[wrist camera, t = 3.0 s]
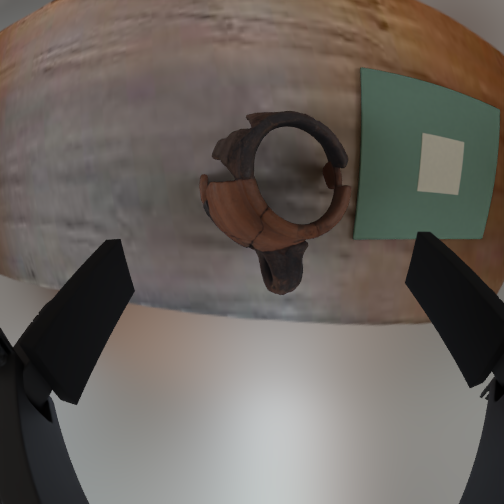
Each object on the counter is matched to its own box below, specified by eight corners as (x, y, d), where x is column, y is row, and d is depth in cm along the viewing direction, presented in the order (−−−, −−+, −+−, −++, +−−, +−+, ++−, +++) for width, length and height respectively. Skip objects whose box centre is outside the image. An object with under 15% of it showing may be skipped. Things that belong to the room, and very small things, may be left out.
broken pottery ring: (179, 146, 19) (201, 105, 12) (286, 129, 22) (347, 98, 15) (218, 294, 22) (258, 334, 14) (315, 259, 25) (382, 275, 17)
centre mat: (498, 109, 15) (500, 109, 15) (480, 237, 22) (482, 239, 21) (360, 67, 16) (361, 67, 15) (352, 238, 22) (353, 240, 22)
